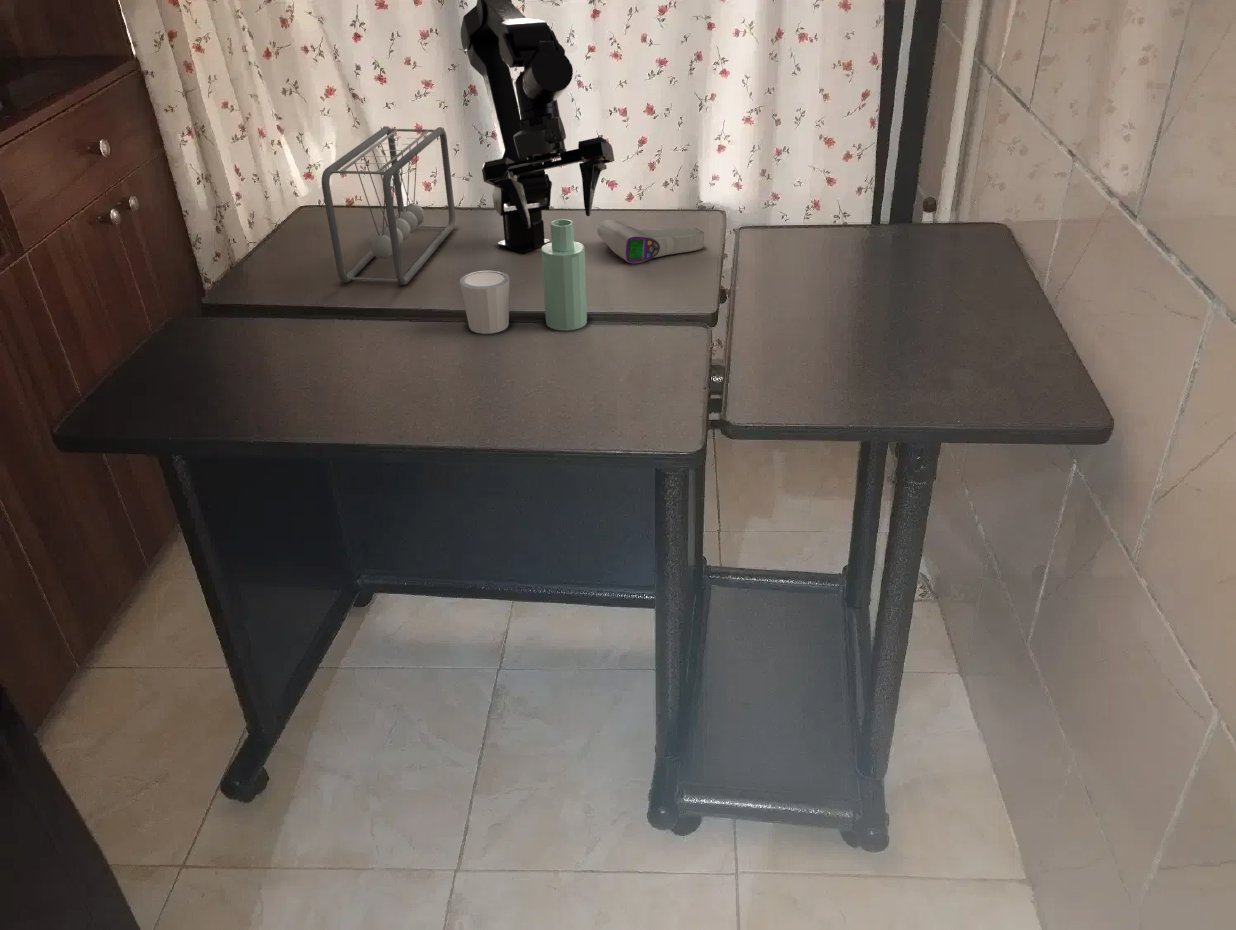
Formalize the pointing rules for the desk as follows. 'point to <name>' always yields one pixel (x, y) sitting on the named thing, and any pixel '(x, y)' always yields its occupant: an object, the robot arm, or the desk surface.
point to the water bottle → (564, 278)
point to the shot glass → (486, 301)
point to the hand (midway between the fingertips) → (558, 222)
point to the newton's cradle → (390, 203)
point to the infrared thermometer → (648, 241)
